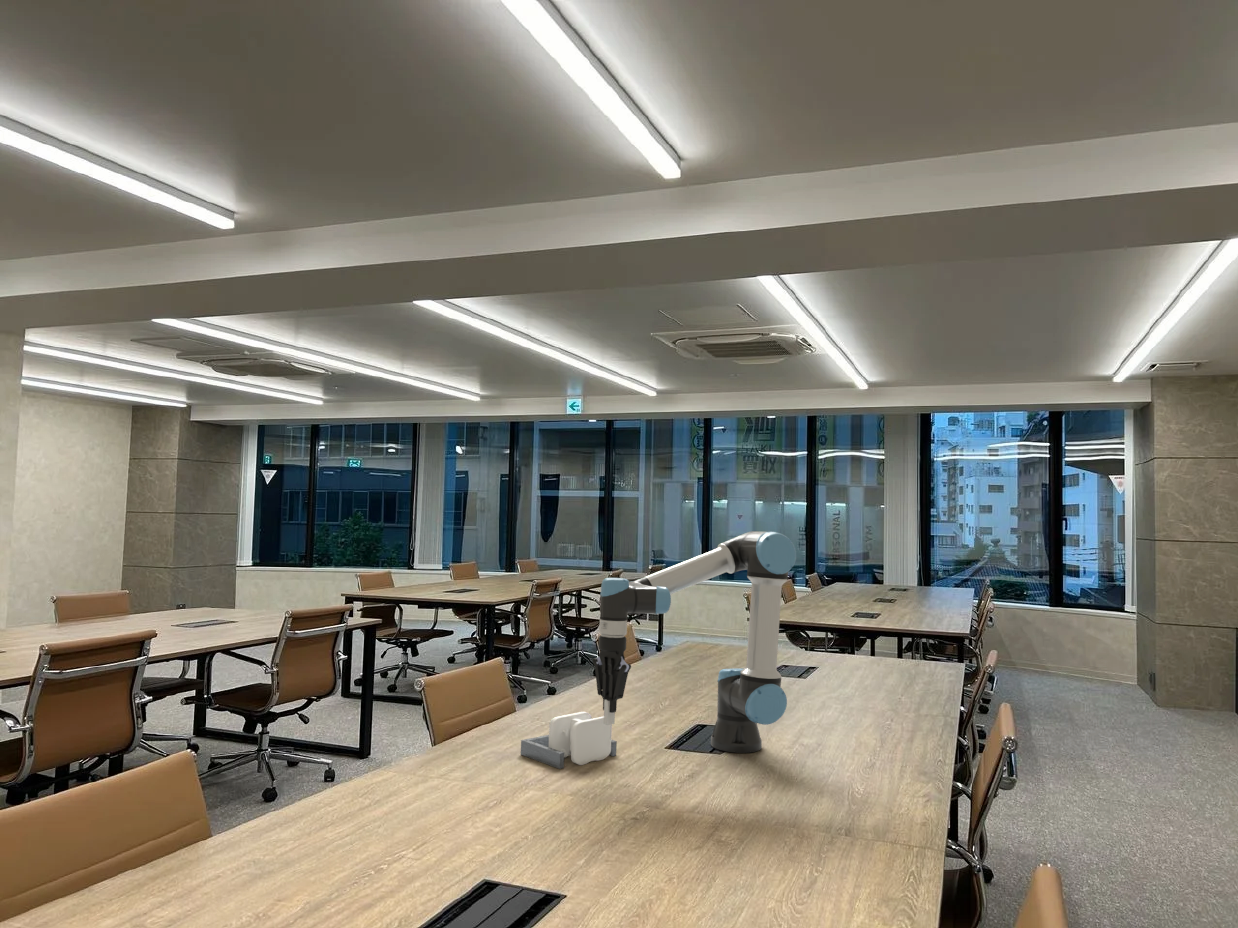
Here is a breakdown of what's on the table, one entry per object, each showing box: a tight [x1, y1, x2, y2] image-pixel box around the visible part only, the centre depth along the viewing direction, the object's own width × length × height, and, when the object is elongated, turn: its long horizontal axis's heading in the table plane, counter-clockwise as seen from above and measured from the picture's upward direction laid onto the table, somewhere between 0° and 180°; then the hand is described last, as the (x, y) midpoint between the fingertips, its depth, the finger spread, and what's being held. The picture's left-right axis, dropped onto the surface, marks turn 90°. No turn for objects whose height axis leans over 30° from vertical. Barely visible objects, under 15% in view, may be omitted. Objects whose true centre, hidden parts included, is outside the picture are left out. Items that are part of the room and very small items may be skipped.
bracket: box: [520, 734, 618, 770], centre depth 237 cm, size 17×21×4 cm
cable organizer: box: [548, 711, 613, 766], centre depth 234 cm, size 15×11×12 cm
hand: (608, 723), depth 226 cm, fingers closed
